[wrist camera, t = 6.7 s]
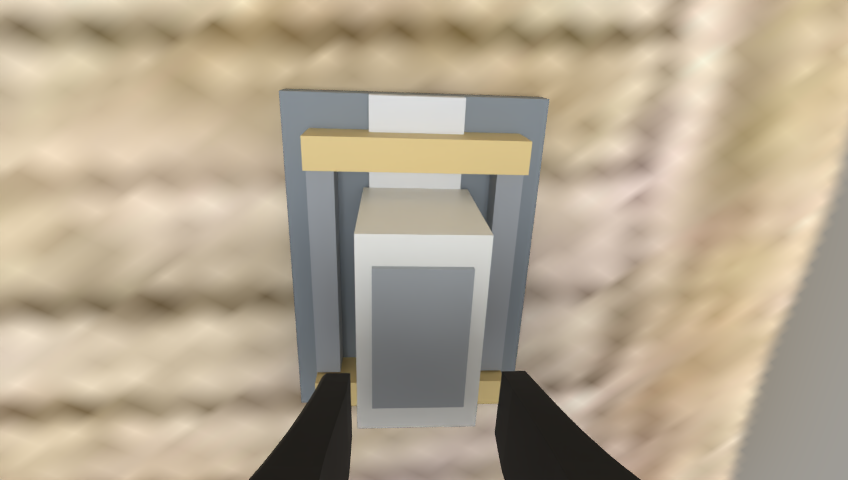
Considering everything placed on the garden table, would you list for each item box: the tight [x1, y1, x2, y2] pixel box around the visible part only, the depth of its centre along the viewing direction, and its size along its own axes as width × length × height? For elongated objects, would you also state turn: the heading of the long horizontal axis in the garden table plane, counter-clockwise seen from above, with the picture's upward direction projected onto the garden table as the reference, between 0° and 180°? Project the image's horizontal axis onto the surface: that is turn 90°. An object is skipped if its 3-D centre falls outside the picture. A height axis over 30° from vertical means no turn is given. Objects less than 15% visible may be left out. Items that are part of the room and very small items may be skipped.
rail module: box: [354, 187, 494, 428], centre depth 17 cm, size 7×4×5 cm, turn 178°
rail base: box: [279, 89, 549, 406], centre depth 20 cm, size 14×10×3 cm
